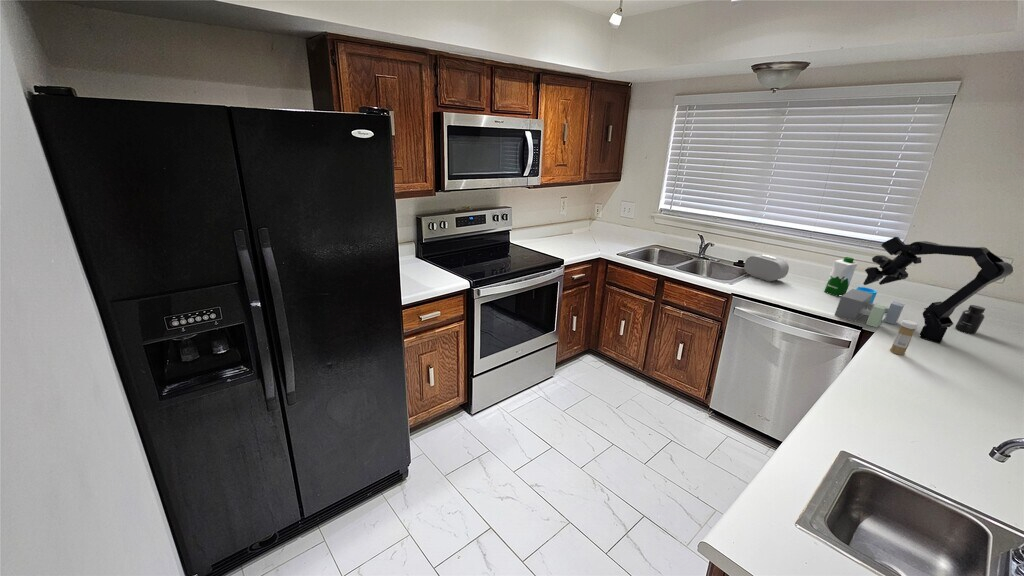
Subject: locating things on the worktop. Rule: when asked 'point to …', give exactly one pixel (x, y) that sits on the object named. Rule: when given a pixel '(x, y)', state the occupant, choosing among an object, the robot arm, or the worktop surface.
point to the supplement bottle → (970, 319)
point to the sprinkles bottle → (903, 337)
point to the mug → (868, 292)
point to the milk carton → (840, 276)
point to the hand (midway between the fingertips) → (871, 284)
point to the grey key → (891, 311)
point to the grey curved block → (852, 304)
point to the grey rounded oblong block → (766, 267)
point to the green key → (874, 314)
